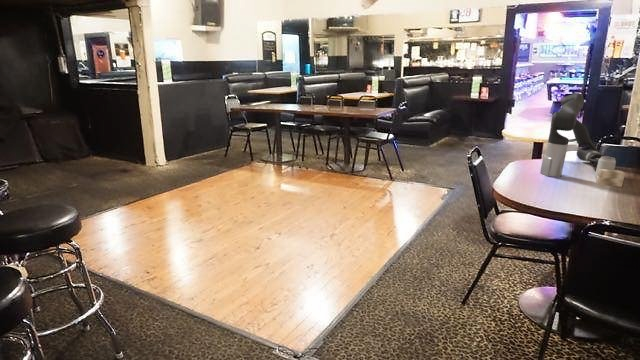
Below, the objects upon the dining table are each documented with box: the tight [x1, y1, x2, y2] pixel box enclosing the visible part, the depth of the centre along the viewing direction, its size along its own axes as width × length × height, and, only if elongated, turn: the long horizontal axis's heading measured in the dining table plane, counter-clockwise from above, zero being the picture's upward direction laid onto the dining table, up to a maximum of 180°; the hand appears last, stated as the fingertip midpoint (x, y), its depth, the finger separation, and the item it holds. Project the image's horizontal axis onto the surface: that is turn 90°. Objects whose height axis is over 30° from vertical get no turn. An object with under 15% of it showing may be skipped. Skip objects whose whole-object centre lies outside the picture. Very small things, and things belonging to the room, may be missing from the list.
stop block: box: [595, 169, 626, 187], centre depth 207 cm, size 10×4×7 cm, turn 71°
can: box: [594, 155, 617, 180], centre depth 214 cm, size 8×8×12 cm
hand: (604, 166), depth 217 cm, fingers closed
